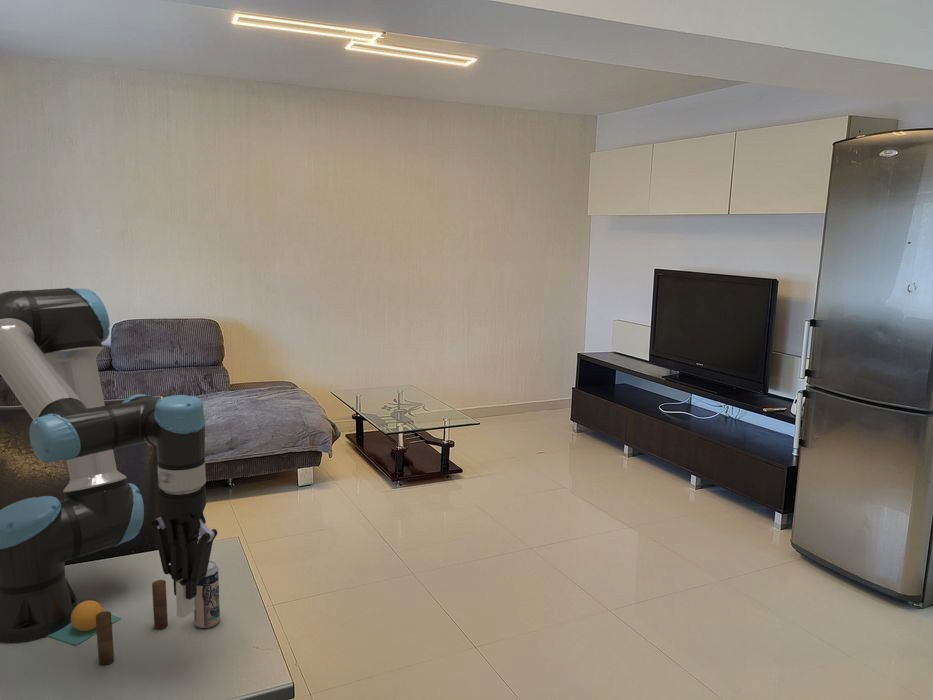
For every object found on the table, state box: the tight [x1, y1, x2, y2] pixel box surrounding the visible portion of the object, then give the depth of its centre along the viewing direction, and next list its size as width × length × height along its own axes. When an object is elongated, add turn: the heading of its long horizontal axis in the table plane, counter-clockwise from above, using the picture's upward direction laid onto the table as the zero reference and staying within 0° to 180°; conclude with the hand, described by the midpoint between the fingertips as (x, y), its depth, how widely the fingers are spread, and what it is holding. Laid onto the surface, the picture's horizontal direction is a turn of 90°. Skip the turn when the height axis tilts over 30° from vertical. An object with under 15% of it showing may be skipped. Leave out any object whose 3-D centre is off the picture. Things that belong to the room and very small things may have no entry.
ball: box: [71, 600, 104, 631], centre depth 132 cm, size 6×6×6 cm
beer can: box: [193, 560, 221, 629], centre depth 135 cm, size 5×5×12 cm
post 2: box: [151, 579, 169, 631], centre depth 134 cm, size 2×2×9 cm
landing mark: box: [46, 614, 122, 647], centre depth 134 cm, size 10×10×1 cm
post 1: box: [96, 610, 115, 667], centre depth 122 cm, size 2×2×9 cm
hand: (185, 612), depth 123 cm, fingers closed
